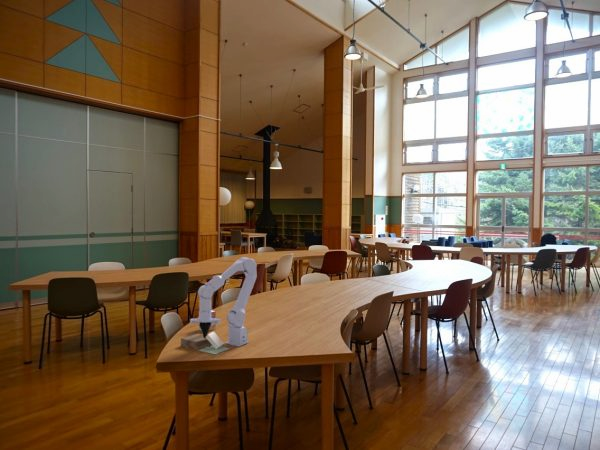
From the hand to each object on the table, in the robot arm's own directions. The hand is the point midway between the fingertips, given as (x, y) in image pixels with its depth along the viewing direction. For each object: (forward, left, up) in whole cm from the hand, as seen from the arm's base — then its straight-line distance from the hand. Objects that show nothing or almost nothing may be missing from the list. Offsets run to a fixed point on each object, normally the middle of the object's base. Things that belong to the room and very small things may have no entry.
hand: (205, 337), depth 209 cm
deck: (+6, 0, -5) cm, 8 cm away
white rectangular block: (-4, -2, -2) cm, 4 cm away
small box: (+23, -24, -5) cm, 34 cm away
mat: (-6, 0, -5) cm, 8 cm away
